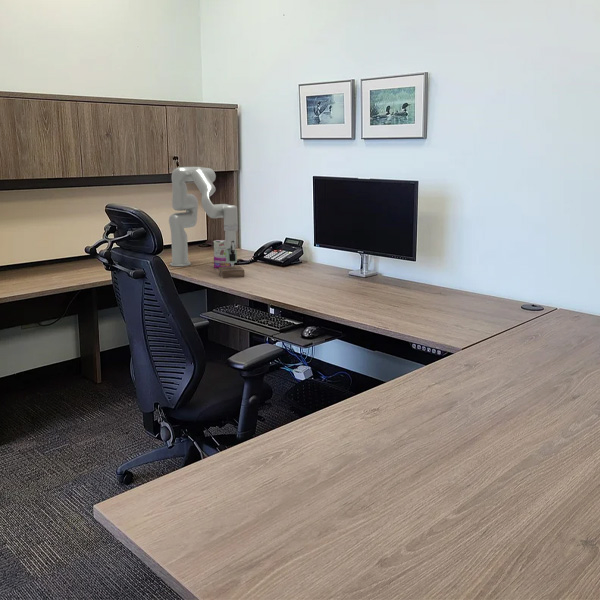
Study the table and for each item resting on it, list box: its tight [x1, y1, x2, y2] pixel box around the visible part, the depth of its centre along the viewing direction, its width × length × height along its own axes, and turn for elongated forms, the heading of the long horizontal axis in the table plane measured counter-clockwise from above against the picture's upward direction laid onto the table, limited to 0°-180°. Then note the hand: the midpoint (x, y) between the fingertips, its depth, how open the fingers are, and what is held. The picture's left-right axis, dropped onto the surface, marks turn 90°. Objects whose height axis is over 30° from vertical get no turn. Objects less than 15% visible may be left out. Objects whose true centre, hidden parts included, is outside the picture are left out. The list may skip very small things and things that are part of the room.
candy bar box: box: [213, 239, 235, 269], centre depth 371 cm, size 11×5×16 cm, turn 73°
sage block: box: [226, 248, 238, 264], centre depth 349 cm, size 5×5×7 cm
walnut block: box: [218, 265, 245, 279], centre depth 352 cm, size 12×12×4 cm
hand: (231, 259), depth 350 cm, fingers closed on sage block, 5 cm apart
